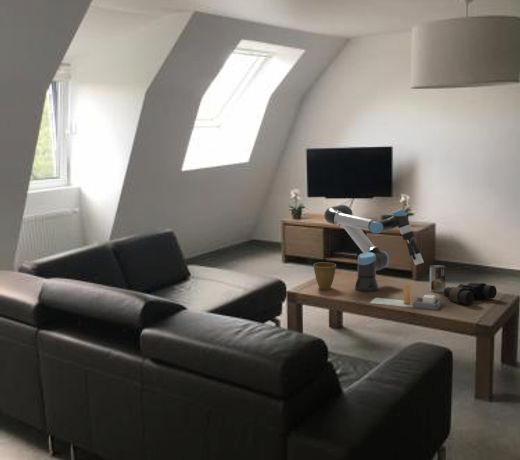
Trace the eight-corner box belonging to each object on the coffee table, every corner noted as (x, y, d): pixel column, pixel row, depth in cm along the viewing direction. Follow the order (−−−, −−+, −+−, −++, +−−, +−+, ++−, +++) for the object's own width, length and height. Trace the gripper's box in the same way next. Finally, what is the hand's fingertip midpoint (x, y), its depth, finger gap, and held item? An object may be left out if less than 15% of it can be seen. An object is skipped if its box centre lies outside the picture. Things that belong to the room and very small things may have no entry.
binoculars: (466, 307, 359) (465, 290, 358) (438, 302, 376) (437, 286, 375) (497, 299, 374) (496, 282, 373) (469, 294, 391) (468, 279, 390)
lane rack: (369, 303, 372) (369, 297, 372) (375, 298, 383) (375, 292, 382) (437, 311, 354) (437, 304, 354) (441, 305, 365) (441, 299, 364)
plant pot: (310, 289, 407) (310, 266, 404) (317, 284, 420) (317, 261, 418) (332, 291, 401) (332, 267, 398) (338, 286, 415) (338, 262, 412)
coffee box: (443, 289, 401) (444, 265, 398) (445, 291, 394) (446, 267, 392) (429, 289, 402) (429, 265, 399) (430, 291, 395) (431, 267, 393)
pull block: (402, 304, 366) (402, 285, 364) (405, 302, 372) (405, 282, 370) (433, 308, 358) (433, 287, 356) (435, 305, 364) (435, 285, 362)
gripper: (408, 231, 382) (421, 263, 379) (416, 230, 404) (429, 260, 401) (396, 235, 385) (409, 267, 382) (406, 234, 408) (418, 264, 404)
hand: (419, 263), depth 392 cm, fingers open, 13 cm apart
